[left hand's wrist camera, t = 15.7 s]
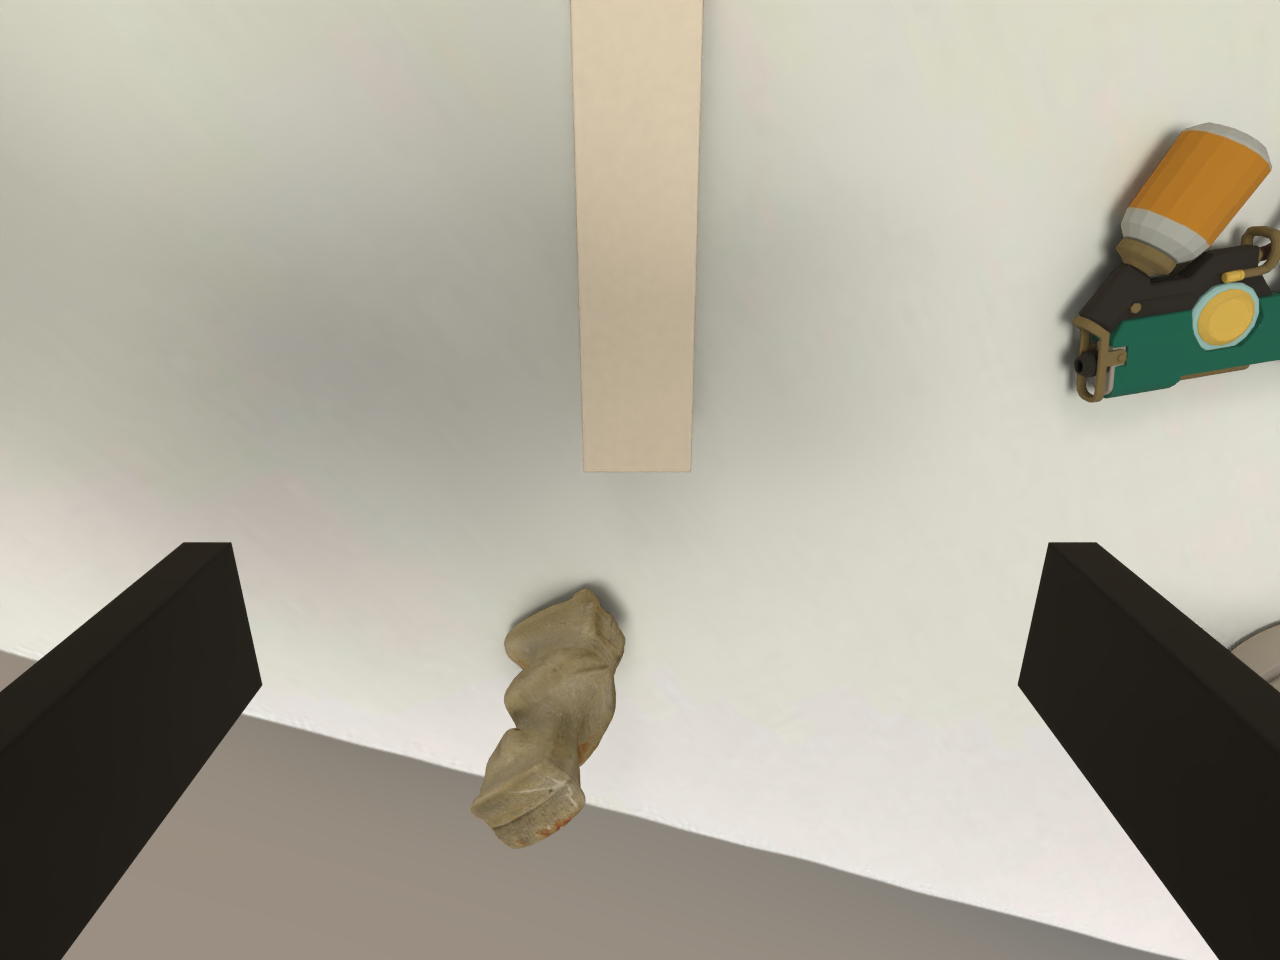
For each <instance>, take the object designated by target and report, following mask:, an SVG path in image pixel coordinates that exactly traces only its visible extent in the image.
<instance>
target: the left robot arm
mask: <svg viewBox="0 0 1280 960" xmlns="http://www.w3.org/2000/svg"><path fill="white" fill-rule="evenodd" d="M261 686H262V681H261V677H260V672H259V667H258V663H257V658H256V654H255V649H254V645H253V640H252V635H251V631H250V626H249V622H248V617H247V612H246V608H245V603H244V599H243V594H242V589H241V585H240V580H239V576H238V571H237V566H236V562H235V557H234V553H233V548H232V543H231V542H184V543H182V544H181V545H180V546H179V547H177V548H176V549H175V550H174V551H173V552H171V553H170V554H169V555H168V556H166V557H165V558H164V559H163V560H161V561H160V562H159V563H158V564H157V565H155V566H154V567H153V568H152V569H150V570H149V571H148V572H147V573H146V574H144V575H143V576H142V577H141V578H139V579H138V580H137V581H136V582H135V583H133V584H132V585H131V586H130V587H128V588H127V589H126V590H125V591H124V592H122V593H121V594H120V595H119V596H117V597H116V598H115V599H114V600H112V601H111V602H110V603H109V604H108V605H106V606H105V607H104V608H103V609H101V610H100V611H99V612H98V613H97V614H95V615H94V616H93V617H92V618H90V619H89V620H88V621H87V622H86V623H84V624H83V625H82V626H81V627H79V628H78V629H77V630H76V631H75V632H73V633H72V634H71V635H70V636H68V637H67V638H66V639H65V640H63V641H62V642H61V643H60V644H59V645H57V646H56V647H55V648H54V649H52V650H51V651H50V652H49V653H48V654H46V655H45V656H44V657H43V658H41V659H40V660H39V661H38V662H37V663H35V664H34V665H33V666H32V667H30V668H29V669H28V670H27V671H26V672H24V673H23V674H22V675H21V676H19V677H18V678H17V679H16V680H14V681H13V682H12V683H11V684H10V685H8V686H7V687H6V688H5V689H3V690H2V691H1V692H0V960H61V959H62V958H63V956H64V955H65V953H66V952H67V951H68V949H69V948H70V947H71V945H72V944H73V942H74V941H75V940H76V938H77V937H78V936H79V934H80V933H81V932H82V930H83V929H84V928H85V926H86V925H87V923H88V922H89V921H90V919H91V918H92V917H93V915H94V914H95V913H96V911H97V910H98V908H99V907H100V906H101V904H102V903H103V902H104V900H105V899H106V898H107V896H108V895H109V893H110V892H111V891H112V889H113V888H114V887H115V885H116V884H117V883H118V881H119V880H120V878H121V877H122V876H123V874H124V873H125V872H126V870H127V869H128V868H129V866H130V865H131V863H132V862H133V861H134V859H135V858H136V857H137V855H138V854H139V853H140V851H141V850H142V848H143V847H144V846H145V844H146V843H147V842H148V840H149V839H150V838H151V836H152V835H153V833H154V832H155V831H156V829H157V828H158V827H159V825H160V824H161V823H162V821H163V820H164V818H165V817H166V816H167V814H168V813H169V812H170V810H171V809H172V808H173V806H174V805H175V803H176V802H177V801H178V799H179V798H180V797H181V795H182V794H183V792H184V791H185V790H186V788H187V787H188V786H189V784H190V783H191V782H192V780H193V779H194V778H195V776H196V775H197V773H198V772H199V771H200V769H201V768H202V767H203V765H204V764H205V763H206V761H207V760H208V758H209V757H210V756H211V754H212V753H213V752H214V750H215V749H216V747H217V746H218V745H219V743H220V742H221V741H222V739H223V738H224V737H225V735H226V734H227V733H228V731H229V730H230V728H231V727H232V726H233V724H234V723H235V722H236V720H237V719H238V718H239V716H240V715H241V713H242V712H243V711H244V709H245V708H246V707H247V705H248V704H249V703H250V701H251V700H252V698H253V697H254V696H255V694H256V693H257V692H258V690H259V689H260V688H261ZM1018 686H1019V688H1020V689H1021V690H1022V692H1023V693H1024V694H1025V696H1026V697H1027V698H1028V700H1029V701H1030V703H1031V704H1032V705H1033V707H1034V708H1035V709H1036V711H1037V712H1038V713H1039V715H1040V716H1041V718H1042V719H1043V720H1044V722H1045V723H1046V724H1047V726H1048V727H1049V728H1050V730H1051V731H1052V733H1053V734H1054V735H1055V737H1056V738H1057V739H1058V741H1059V742H1060V743H1061V745H1062V746H1063V748H1064V749H1065V750H1066V752H1067V753H1068V754H1069V756H1070V757H1071V758H1072V760H1073V761H1074V763H1075V764H1076V765H1077V767H1078V768H1079V769H1080V771H1081V772H1082V773H1083V775H1084V776H1085V778H1086V779H1087V780H1088V782H1089V783H1090V784H1091V786H1092V787H1093V788H1094V790H1095V791H1096V793H1097V794H1098V795H1099V797H1100V798H1101V799H1102V801H1103V802H1104V803H1105V805H1106V806H1107V808H1108V809H1109V810H1110V812H1111V813H1112V814H1113V816H1114V817H1115V818H1116V820H1117V821H1118V823H1119V824H1120V825H1121V827H1122V828H1123V829H1124V831H1125V832H1126V833H1127V835H1128V836H1129V838H1130V839H1131V840H1132V842H1133V843H1134V844H1135V846H1136V847H1137V848H1138V850H1139V851H1140V853H1141V854H1142V855H1143V857H1144V858H1145V859H1146V861H1147V862H1148V863H1149V865H1150V866H1151V868H1152V869H1153V870H1154V872H1155V873H1156V874H1157V876H1158V877H1159V878H1160V880H1161V881H1162V883H1163V884H1164V885H1165V887H1166V888H1167V889H1168V891H1169V892H1170V893H1171V895H1172V896H1173V898H1174V899H1175V900H1176V902H1177V903H1178V904H1179V906H1180V907H1181V908H1182V910H1183V911H1184V913H1185V914H1186V915H1187V917H1188V918H1189V919H1190V921H1191V922H1192V923H1193V925H1194V926H1195V928H1196V929H1197V930H1198V932H1199V933H1200V934H1201V936H1202V937H1203V938H1204V940H1205V941H1206V943H1207V944H1208V945H1209V947H1210V948H1211V949H1212V951H1213V952H1214V953H1215V955H1216V956H1217V958H1218V959H1219V960H1280V692H1279V691H1278V690H1277V689H1275V688H1274V687H1273V686H1272V685H1270V684H1269V683H1268V682H1267V681H1266V680H1264V679H1263V678H1262V677H1261V676H1259V675H1258V674H1257V673H1256V672H1254V671H1253V670H1252V669H1251V668H1250V667H1248V666H1247V665H1246V664H1245V663H1243V662H1242V661H1241V660H1240V659H1239V658H1237V657H1236V656H1235V655H1234V654H1232V653H1231V652H1230V651H1229V650H1228V649H1226V648H1225V647H1224V646H1223V645H1221V644H1220V643H1219V642H1218V641H1217V640H1215V639H1214V638H1213V637H1212V636H1210V635H1209V634H1208V633H1207V632H1205V631H1204V630H1203V629H1202V628H1201V627H1199V626H1198V625H1197V624H1196V623H1194V622H1193V621H1192V620H1191V619H1190V618H1188V617H1187V616H1186V615H1185V614H1183V613H1182V612H1181V611H1180V610H1179V609H1177V608H1176V607H1175V606H1174V605H1172V604H1171V603H1170V602H1169V601H1168V600H1166V599H1165V598H1164V597H1163V596H1161V595H1160V594H1159V593H1158V592H1156V591H1155V590H1154V589H1153V588H1152V587H1150V586H1149V585H1148V584H1147V583H1145V582H1144V581H1143V580H1142V579H1141V578H1139V577H1138V576H1137V575H1136V574H1134V573H1133V572H1132V571H1131V570H1130V569H1128V568H1127V567H1126V566H1125V565H1123V564H1122V563H1121V562H1120V561H1119V560H1117V559H1116V558H1115V557H1114V556H1112V555H1111V554H1110V553H1109V552H1107V551H1106V550H1105V549H1104V548H1103V547H1101V546H1100V545H1099V544H1098V543H1096V542H1049V543H1048V548H1047V553H1046V557H1045V562H1044V566H1043V571H1042V576H1041V580H1040V585H1039V589H1038V594H1037V599H1036V603H1035V608H1034V612H1033V617H1032V622H1031V626H1030V631H1029V635H1028V640H1027V644H1026V649H1025V654H1024V658H1023V663H1022V667H1021V672H1020V677H1019V681H1018Z"/></svg>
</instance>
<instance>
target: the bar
mask: <svg viewBox="0 0 1280 960" xmlns="http://www.w3.org/2000/svg"><path fill="white" fill-rule="evenodd" d="M570 11H571V46H572V81H573V116H574V151H575V186H576V221H577V256H578V291H579V326H580V361H581V395H582V430H583V465H584V472H691V452H692V414H693V376H694V339H695V301H696V263H697V226H698V188H699V150H700V113H701V75H702V37H703V0H570Z"/></svg>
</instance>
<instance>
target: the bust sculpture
mask: <svg viewBox="0 0 1280 960" xmlns="http://www.w3.org/2000/svg"><path fill="white" fill-rule="evenodd" d="M1231 653H1232V654H1234V655H1235V656H1236V657H1237V658H1239V659H1240V660H1241V661H1242V662H1243V663H1245V664H1246V665H1247V666H1248V667H1250V668H1251V669H1252V670H1253V671H1254V672H1256V673H1257V674H1258V675H1259V676H1261V677H1262V678H1263V679H1264V680H1266V681H1267V682H1268V683H1269V684H1270V685H1272V686H1273V687H1274V688H1275V689H1277V690H1278V691H1279V692H1280V624H1279V625H1276V626H1274V627H1271V628H1269V629H1266V630H1264V631H1262V632H1260V633H1258V634H1256V635H1254V636H1253V637H1251V638H1249V639H1248V640H1246V641H1244V642H1243V643H1241V644H1240V645H1239V646H1237V647H1236V648H1235V649H1233V650H1232V651H1231Z"/></svg>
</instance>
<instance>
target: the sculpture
mask: <svg viewBox="0 0 1280 960" xmlns="http://www.w3.org/2000/svg"><path fill="white" fill-rule="evenodd" d="M504 645H505V650H506V653H507V655H508V657H509V658H510V659H511V660H512V661H513V662H515V663H516V664H517V665H519V666H520V667H521V668H522V669H523V671H521V672H520V673H519V674H518V675H517V676H516V677H515V678H514V679H513V681H512V683H511V684H510V685H509V687H508V688H507V690H506V693H505V696H504V704H505V706H506V709H507V711H508V712H509V714H510V716H511V718H512V719H513V721H514V723H515V725H516V728H512V729H509V730H508V731H506V733H505V734H504V735H503V737H502V739H501V740H500V742H499V744H498V745H497V747H496V749H495V751H494V752H493V754H492V755H491V757H490V758H489V760H488V763H487V766H486V772H485V777H484V780H483V783H482V786H481V789H480V794H479V795H478V796H477V797H476V798H475V800H474V801H473V802H472V804H471V805H470V811H471V813H472V814H473V815H474V817H476V818H478V819H480V820H482V821H484V822H485V823H487V824H488V825H489V826H490V828H491V829H492V830H493V832H494V833H495V835H496V836H497V837H498V838H499V840H500V841H501V842H502V843H503V844H504V845H506V846H507V847H509V848H513V849H519V848H523V847H527V846H530V845H532V844H535V843H537V842H539V841H541V840H543V839H545V838H546V837H548V836H550V835H551V834H553V833H555V832H556V831H558V830H560V829H561V828H562V827H564V826H565V825H566V824H567V823H568V822H569V821H570V820H571V819H572V818H573V817H574V816H576V815H577V814H578V813H579V812H580V810H581V809H582V808H583V806H584V804H585V801H586V800H585V795H584V793H583V791H582V789H581V787H580V769H579V767H580V766H582V765H583V764H584V763H585V761H586V760H587V759H588V758H589V757H590V756H591V754H592V753H593V751H594V750H595V749H596V748H597V747H598V745H599V743H600V741H601V739H602V736H603V735H604V733H605V731H606V730H607V728H608V726H609V724H610V722H611V720H612V718H613V715H614V712H615V706H616V692H615V684H614V674H615V671H616V668H617V667H618V665H619V663H620V661H621V658H622V656H623V653H624V645H625V637H624V635H623V633H622V631H621V630H620V629H619V627H618V626H617V623H616V621H615V620H614V618H613V617H612V615H611V614H610V613H607V612H606V611H605V610H604V609H603V608H601V607H600V603H599V600H598V598H597V597H596V596H595V595H594V594H593V593H592V592H591V591H590V590H589V589H587V588H585V589H582V590H580V591H578V592H576V593H575V594H574V597H573V598H571V599H570V600H568V601H565V602H562V603H558V604H555V605H552V606H550V607H548V608H546V609H543V610H541V611H539V612H537V613H536V614H534V615H532V616H530V617H528V618H526V619H525V620H523V621H522V622H520V623H519V624H518V625H516V626H515V627H514V628H513V629H512V630H511V631H510V632H509V633H508V634H507V636H506V639H505V642H504Z"/></svg>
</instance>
